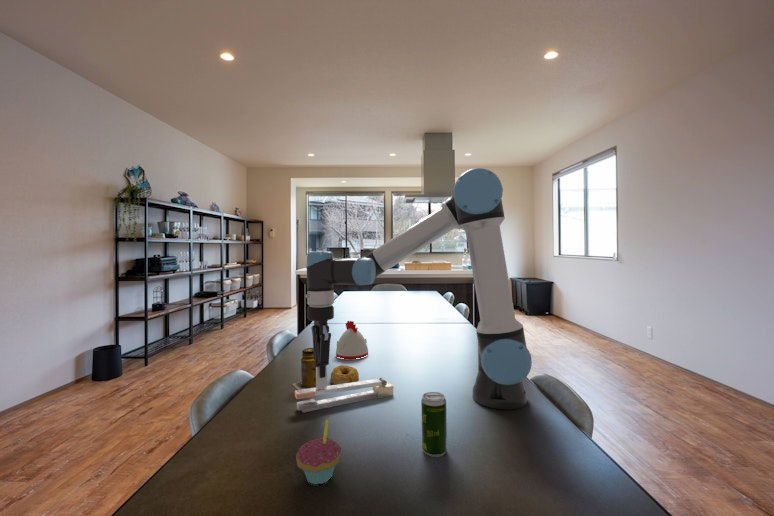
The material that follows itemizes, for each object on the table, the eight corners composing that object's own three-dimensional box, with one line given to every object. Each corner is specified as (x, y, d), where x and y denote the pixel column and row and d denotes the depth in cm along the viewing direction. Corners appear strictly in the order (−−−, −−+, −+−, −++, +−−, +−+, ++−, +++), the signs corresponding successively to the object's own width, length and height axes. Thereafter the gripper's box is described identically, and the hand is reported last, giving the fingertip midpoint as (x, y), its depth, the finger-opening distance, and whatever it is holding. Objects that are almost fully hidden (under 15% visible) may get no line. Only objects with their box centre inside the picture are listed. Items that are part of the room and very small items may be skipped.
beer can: (443, 443, 80) (442, 390, 80) (450, 457, 74) (449, 400, 74) (420, 445, 79) (419, 392, 79) (424, 459, 74) (423, 401, 74)
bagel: (324, 386, 117) (324, 372, 117) (336, 375, 128) (336, 362, 128) (353, 388, 115) (353, 374, 115) (363, 377, 126) (362, 363, 126)
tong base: (393, 395, 108) (393, 385, 108) (299, 414, 96) (299, 403, 96) (387, 390, 112) (387, 381, 112) (296, 408, 100) (296, 397, 100)
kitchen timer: (356, 349, 163) (355, 317, 163) (374, 355, 152) (373, 321, 152) (330, 355, 154) (329, 321, 154) (347, 362, 144) (346, 325, 143)
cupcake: (343, 464, 73) (342, 406, 73) (339, 492, 64) (337, 426, 64) (301, 466, 72) (300, 407, 72) (291, 493, 64) (290, 427, 64)
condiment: (324, 385, 118) (323, 350, 117) (299, 391, 113) (298, 354, 113) (315, 379, 124) (315, 345, 124) (292, 384, 119) (291, 349, 119)
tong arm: (387, 385, 108) (387, 380, 108) (296, 399, 96) (296, 394, 96) (382, 382, 111) (382, 377, 111) (294, 395, 99) (294, 390, 99)
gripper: (302, 303, 105) (303, 382, 105) (312, 309, 93) (313, 398, 94) (327, 301, 108) (328, 378, 108) (339, 307, 97) (340, 393, 97)
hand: (321, 387), depth 101 cm, fingers closed
